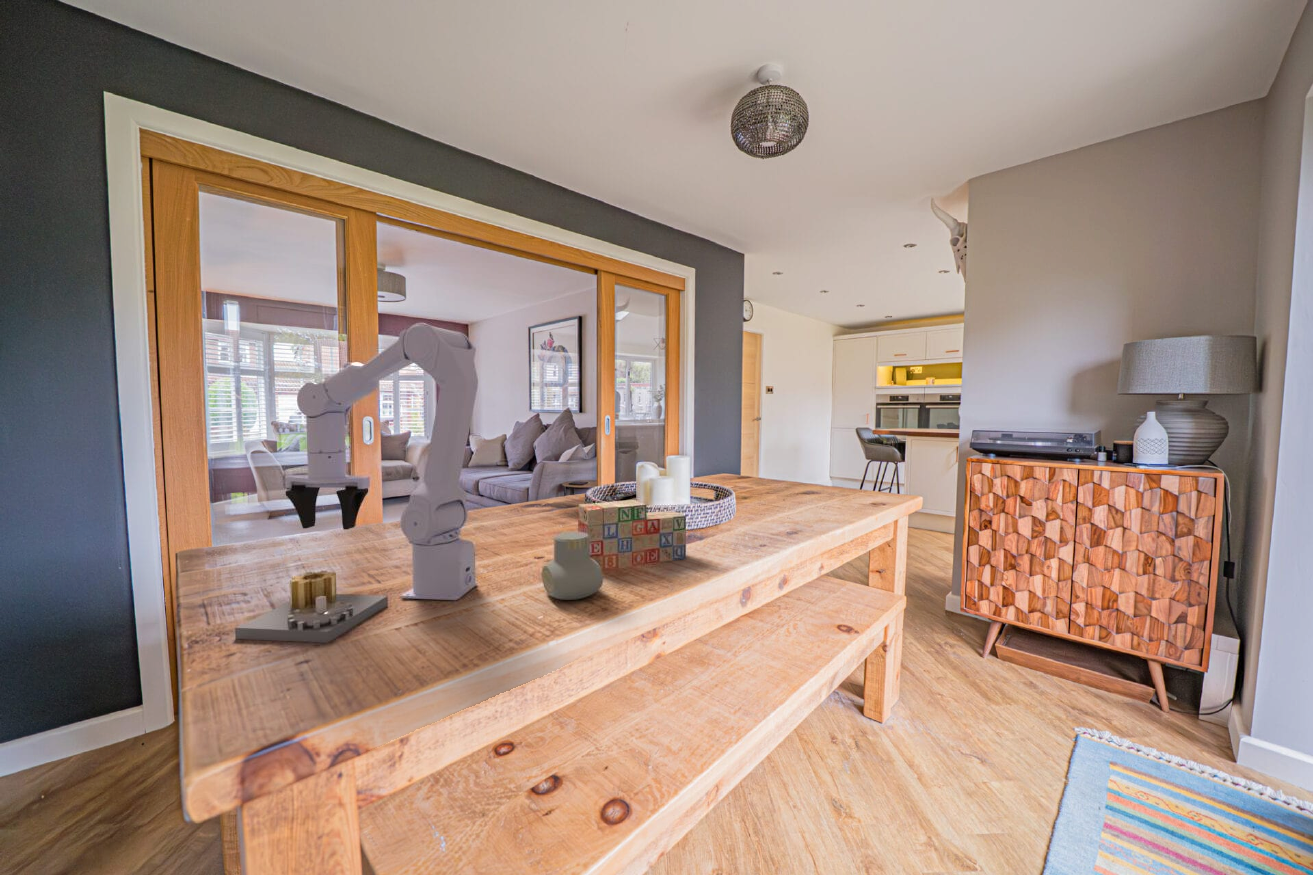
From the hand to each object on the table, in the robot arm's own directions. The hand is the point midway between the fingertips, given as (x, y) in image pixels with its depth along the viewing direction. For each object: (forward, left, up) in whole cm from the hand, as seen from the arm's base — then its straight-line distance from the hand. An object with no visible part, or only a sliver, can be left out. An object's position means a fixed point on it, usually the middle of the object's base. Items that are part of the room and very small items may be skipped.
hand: (328, 527), depth 91 cm
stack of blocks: (-53, -17, -10) cm, 56 cm away
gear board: (-11, +17, -9) cm, 22 cm away
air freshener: (-45, +3, -10) cm, 46 cm away
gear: (-14, +20, -8) cm, 25 cm away
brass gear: (-8, +14, -8) cm, 18 cm away
